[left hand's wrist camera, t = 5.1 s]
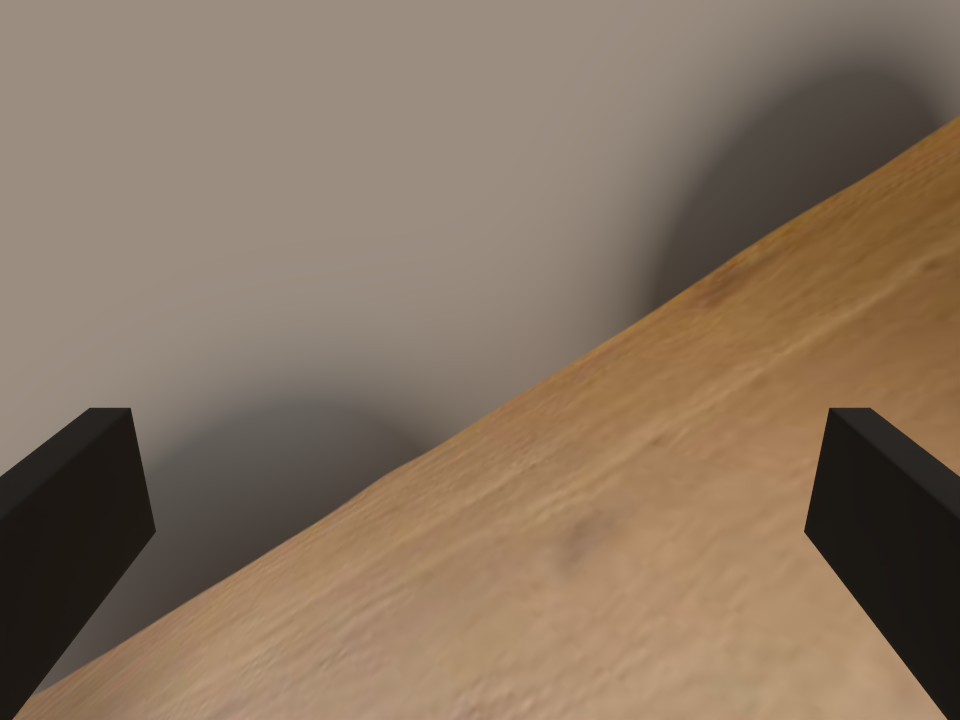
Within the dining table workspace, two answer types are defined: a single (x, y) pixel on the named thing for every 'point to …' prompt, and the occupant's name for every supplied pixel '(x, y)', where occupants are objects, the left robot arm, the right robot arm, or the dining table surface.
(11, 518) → the left robot arm
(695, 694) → the dining table surface
